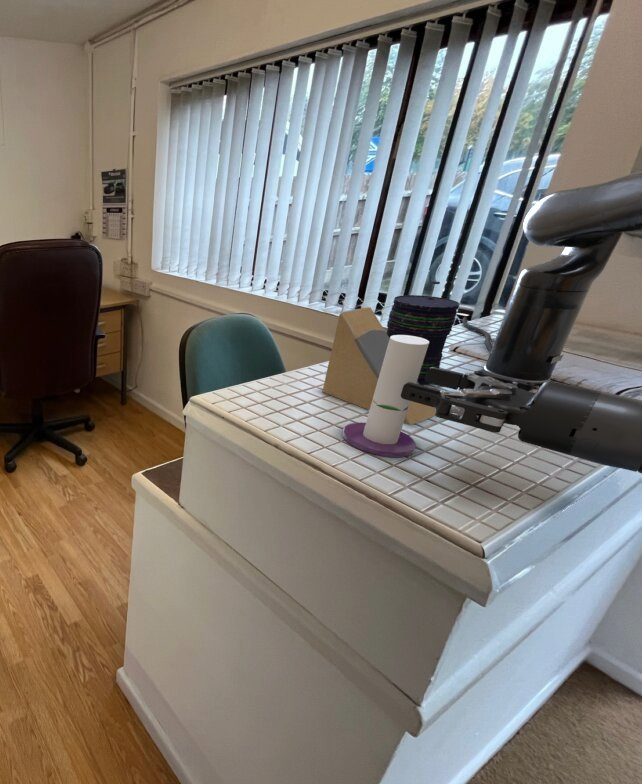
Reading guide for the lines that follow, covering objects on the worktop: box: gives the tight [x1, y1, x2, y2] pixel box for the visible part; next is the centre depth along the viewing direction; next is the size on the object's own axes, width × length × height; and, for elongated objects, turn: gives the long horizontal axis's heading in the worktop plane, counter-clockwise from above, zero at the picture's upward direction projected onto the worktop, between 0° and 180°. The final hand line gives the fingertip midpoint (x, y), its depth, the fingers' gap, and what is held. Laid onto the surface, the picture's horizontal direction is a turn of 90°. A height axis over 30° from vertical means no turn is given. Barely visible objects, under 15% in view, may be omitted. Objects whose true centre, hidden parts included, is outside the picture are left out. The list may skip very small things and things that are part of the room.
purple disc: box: [342, 422, 417, 458], centre depth 68 cm, size 9×9×1 cm
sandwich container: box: [322, 306, 436, 426], centre depth 77 cm, size 9×15×15 cm, turn 27°
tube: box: [363, 335, 429, 444], centre depth 64 cm, size 4×4×15 cm
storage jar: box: [385, 280, 460, 386], centre depth 87 cm, size 10×10×18 cm
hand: (415, 381), depth 62 cm, fingers open, 8 cm apart
